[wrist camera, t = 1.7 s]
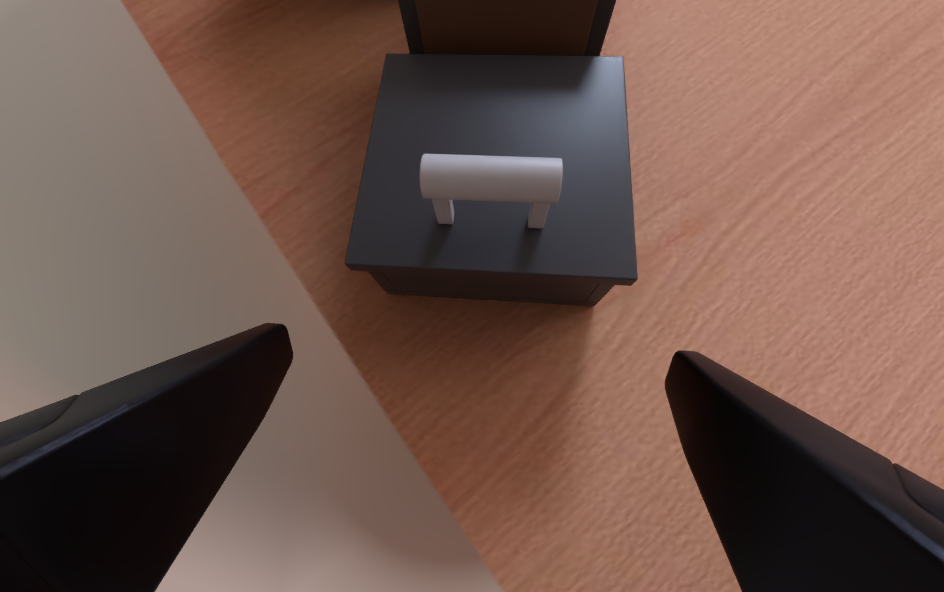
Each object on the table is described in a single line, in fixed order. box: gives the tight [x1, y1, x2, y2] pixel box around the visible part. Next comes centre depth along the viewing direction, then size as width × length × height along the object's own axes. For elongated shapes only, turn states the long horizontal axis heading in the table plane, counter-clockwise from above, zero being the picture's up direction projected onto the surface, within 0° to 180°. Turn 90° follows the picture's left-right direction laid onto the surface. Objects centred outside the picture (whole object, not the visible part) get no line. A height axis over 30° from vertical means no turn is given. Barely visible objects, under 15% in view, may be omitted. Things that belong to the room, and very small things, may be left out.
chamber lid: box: [345, 54, 638, 286], centre depth 16 cm, size 12×13×5 cm
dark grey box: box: [368, 271, 614, 306], centre depth 21 cm, size 12×13×6 cm
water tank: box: [398, 0, 616, 56], centre depth 22 cm, size 6×11×10 cm, turn 85°
